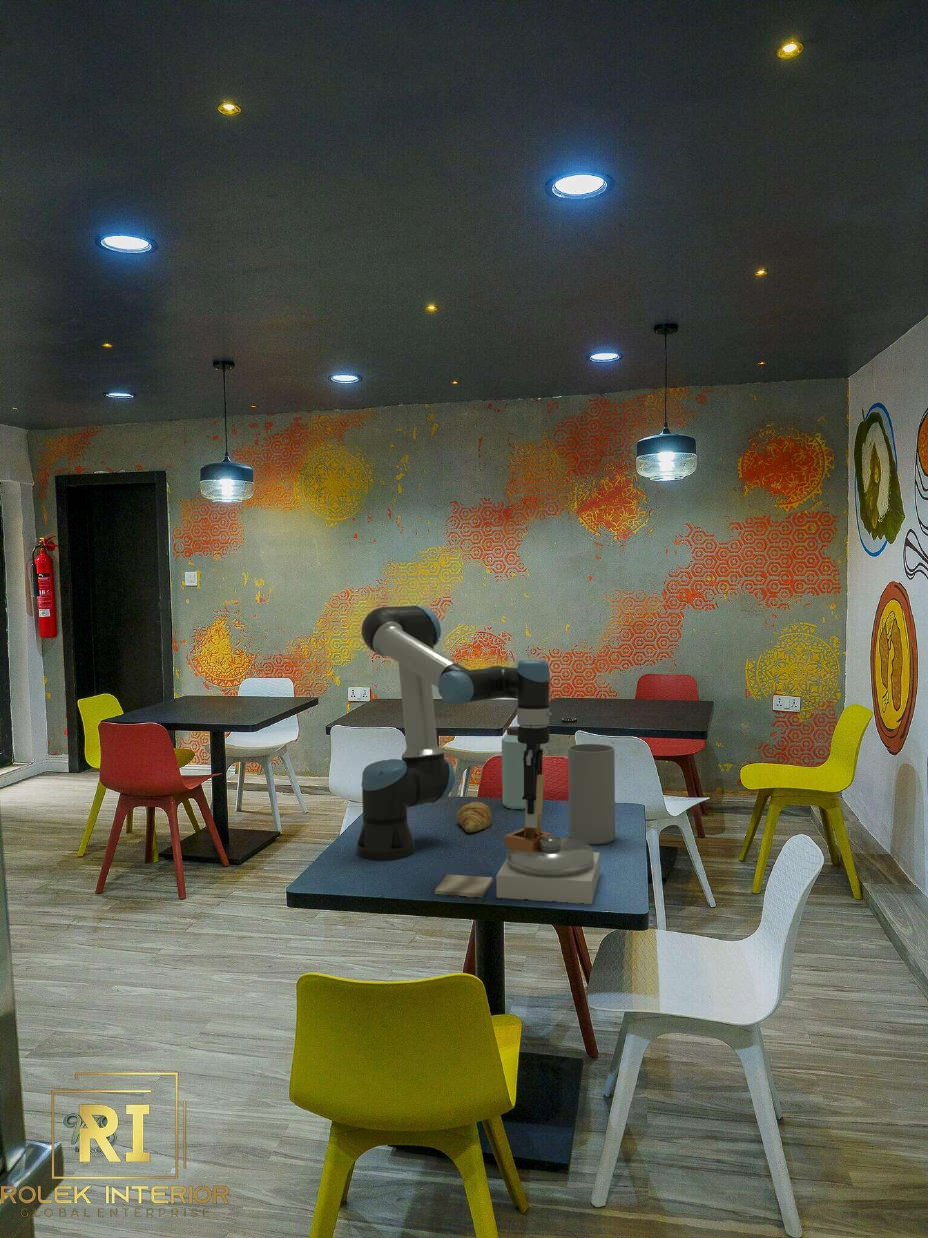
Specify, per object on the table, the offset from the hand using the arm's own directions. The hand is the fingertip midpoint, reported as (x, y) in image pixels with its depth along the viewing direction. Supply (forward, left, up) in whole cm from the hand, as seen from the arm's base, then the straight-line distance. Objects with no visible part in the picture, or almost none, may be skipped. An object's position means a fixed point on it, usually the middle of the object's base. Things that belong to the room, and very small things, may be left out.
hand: (533, 824), depth 201 cm
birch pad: (-15, -9, -13) cm, 22 cm away
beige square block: (+4, -3, -13) cm, 14 cm away
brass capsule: (0, -1, -4) cm, 4 cm away
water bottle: (-16, +67, -13) cm, 70 cm away
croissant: (-25, +43, -13) cm, 52 cm away
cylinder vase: (+10, +36, -13) cm, 39 cm away
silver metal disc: (+4, -3, -8) cm, 9 cm away
